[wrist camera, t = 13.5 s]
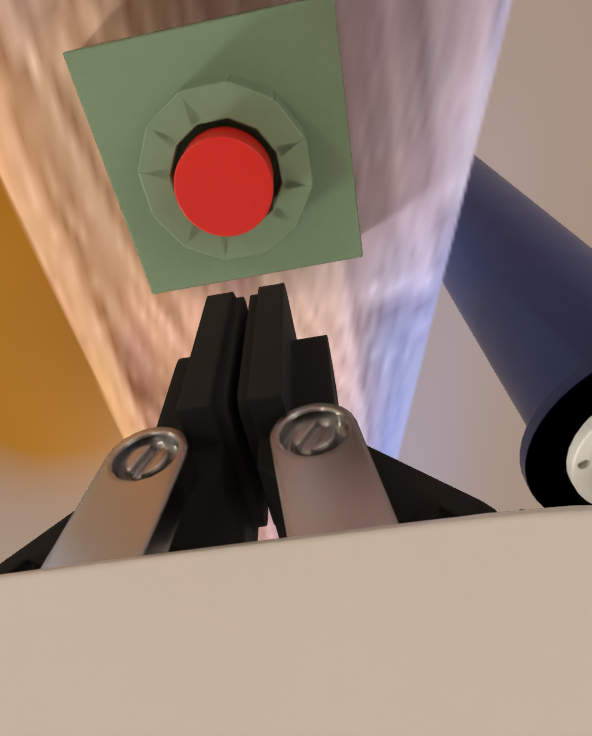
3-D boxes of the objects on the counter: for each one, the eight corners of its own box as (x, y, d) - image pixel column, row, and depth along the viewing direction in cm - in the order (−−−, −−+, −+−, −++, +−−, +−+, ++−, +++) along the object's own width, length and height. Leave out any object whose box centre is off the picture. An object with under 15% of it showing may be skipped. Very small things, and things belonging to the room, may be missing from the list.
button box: (328, -6, 20) (338, -7, 17) (356, 238, 26) (368, 273, 23) (79, 47, 21) (44, 57, 18) (160, 274, 27) (144, 313, 24)
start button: (262, 117, 20) (261, 127, 18) (281, 212, 22) (282, 227, 20) (167, 136, 20) (160, 147, 18) (195, 228, 22) (190, 244, 20)
